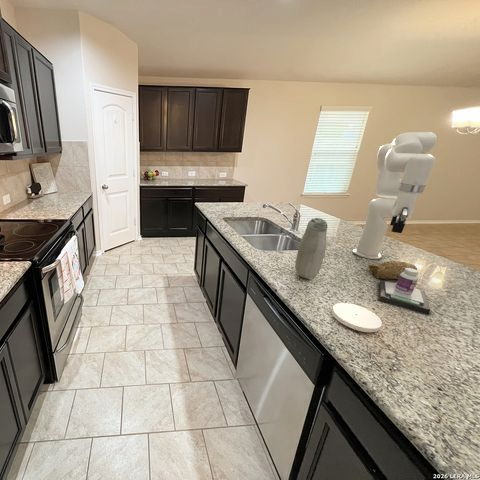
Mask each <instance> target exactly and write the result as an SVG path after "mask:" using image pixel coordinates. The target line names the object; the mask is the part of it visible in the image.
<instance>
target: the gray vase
mask: <svg viewBox="0 0 480 480" xmlns="http://www.w3.org/2000/svg"><path fill="white" fill-rule="evenodd" d="M327 233H328V223H327V221H326V220H325V219H323V218H320V217H314V218H311V219H310V220H309V221H308V222H307V225H306V227H305V231H304V233H303V234H302V237H301V238H300V241H299V244H298V249H297V253H296V259H295V264H294V265H295V266H294V269H295V273H296V274H297V275H298V276H299V277H301V278H304V279H314V278H315V277H317V276H318V274H319V272H320V271H321V268H322V264H323V260H324V257H325V254H326V250H327V235H328V234H327Z"/></svg>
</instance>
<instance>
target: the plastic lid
mask: <svg viewBox="0 0 480 480" xmlns="http://www.w3.org/2000/svg"><path fill="white" fill-rule="evenodd" d="M331 315H332V316H333V317H334V319H335V320H336V321H338V322H339V323H341V324H342V325H344V326H346V327H348V328H350V329H353V330H356V331H359V332H364V333H376V332H379V331H380V330H381V328H382V326H383V321H382V319H381V318H380V317H379V316H378V315H377V314H376V313H374V312H373V311H371V310H370V309H368V308H366V307H364V306H361V305H357V304H354V303H349V302H348V303H347V302H338V303H335V304H333V306H332V307H331Z"/></svg>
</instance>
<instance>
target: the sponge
mask: <svg viewBox="0 0 480 480" xmlns="http://www.w3.org/2000/svg"><path fill="white" fill-rule="evenodd" d="M416 266H417V265H415V264H412V263H408V262H405V261H400V260H389V261H384V262H382V263H377V264H369V265H368V271H369V272H370V273H371V274H372V275H374V276H375V278H377V279H381V280H382V279H383V280H385V279H386V280H390V279H395V280H396V279H397V280H398V278H399V276H400V274H401V273H402V272H404V270H405V268H412V269H415V270H417V271H418V267H416Z"/></svg>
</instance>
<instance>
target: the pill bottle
mask: <svg viewBox="0 0 480 480" xmlns="http://www.w3.org/2000/svg"><path fill="white" fill-rule="evenodd" d="M419 273H420V272H419V270H418V269H417V270H415V269H412V268H405V270H404V272H402V273H401V274H400V276H399V278H398V279H397V281H396V283H395V284H396V286H395V290H396V291H398V292H400V293H403V294H412V292H413V290H414V289H416V285H417V283H418V282H419V276H418V275H419Z"/></svg>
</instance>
